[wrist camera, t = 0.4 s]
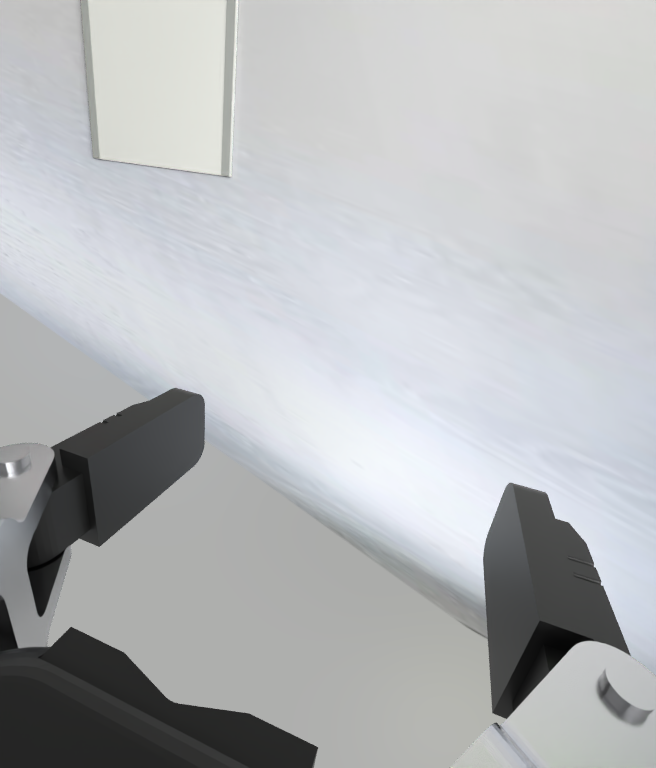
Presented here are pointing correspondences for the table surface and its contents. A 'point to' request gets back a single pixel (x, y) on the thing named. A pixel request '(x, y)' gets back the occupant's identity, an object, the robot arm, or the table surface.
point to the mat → (162, 82)
